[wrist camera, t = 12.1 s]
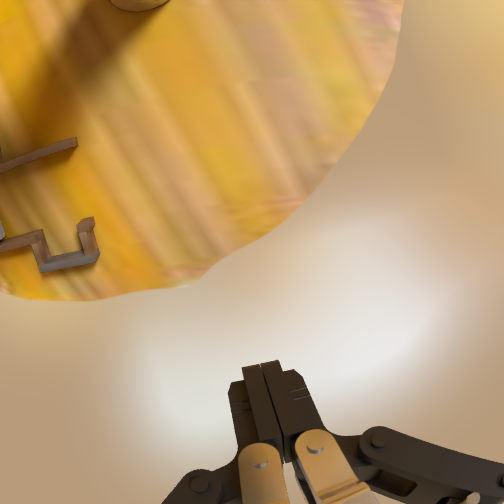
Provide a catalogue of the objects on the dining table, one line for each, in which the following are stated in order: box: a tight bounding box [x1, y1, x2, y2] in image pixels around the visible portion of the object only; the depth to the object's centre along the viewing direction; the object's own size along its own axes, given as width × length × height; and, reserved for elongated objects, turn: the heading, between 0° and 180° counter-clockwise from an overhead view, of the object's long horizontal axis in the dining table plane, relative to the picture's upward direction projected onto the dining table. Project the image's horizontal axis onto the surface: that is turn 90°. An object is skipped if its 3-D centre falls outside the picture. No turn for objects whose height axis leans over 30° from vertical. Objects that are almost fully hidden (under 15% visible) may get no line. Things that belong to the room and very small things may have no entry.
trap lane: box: [0, 137, 100, 273], centre depth 29 cm, size 19×22×2 cm
